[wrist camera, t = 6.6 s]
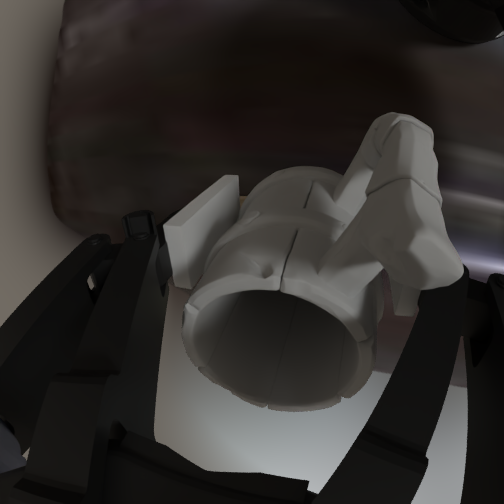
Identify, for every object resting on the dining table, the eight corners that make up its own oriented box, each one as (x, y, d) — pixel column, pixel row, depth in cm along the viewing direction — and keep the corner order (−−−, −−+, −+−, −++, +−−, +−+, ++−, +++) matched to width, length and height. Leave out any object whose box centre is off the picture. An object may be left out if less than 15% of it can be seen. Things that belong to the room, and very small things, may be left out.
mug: (226, 239, 19) (113, 392, 9) (327, 67, 13) (280, -8, 3) (326, 302, 19) (290, 481, 10) (448, 155, 13) (591, 293, 3)
